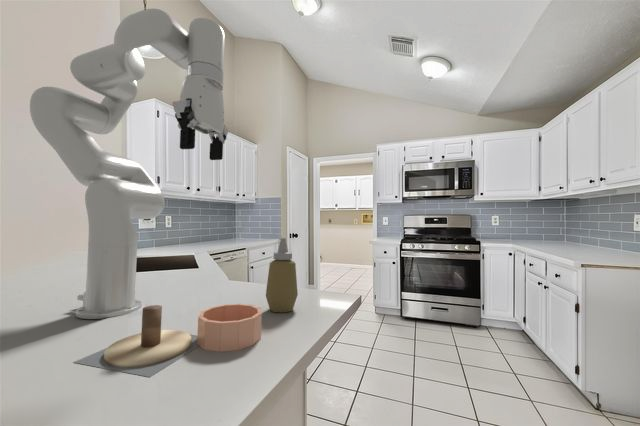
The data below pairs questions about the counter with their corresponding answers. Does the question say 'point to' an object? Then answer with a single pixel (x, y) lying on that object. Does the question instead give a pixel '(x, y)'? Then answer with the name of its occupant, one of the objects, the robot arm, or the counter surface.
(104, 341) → the counter surface
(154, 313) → the lid
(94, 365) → the mat
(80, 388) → the counter surface
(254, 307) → the bowl
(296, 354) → the counter surface
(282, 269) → the squeeze bottle
